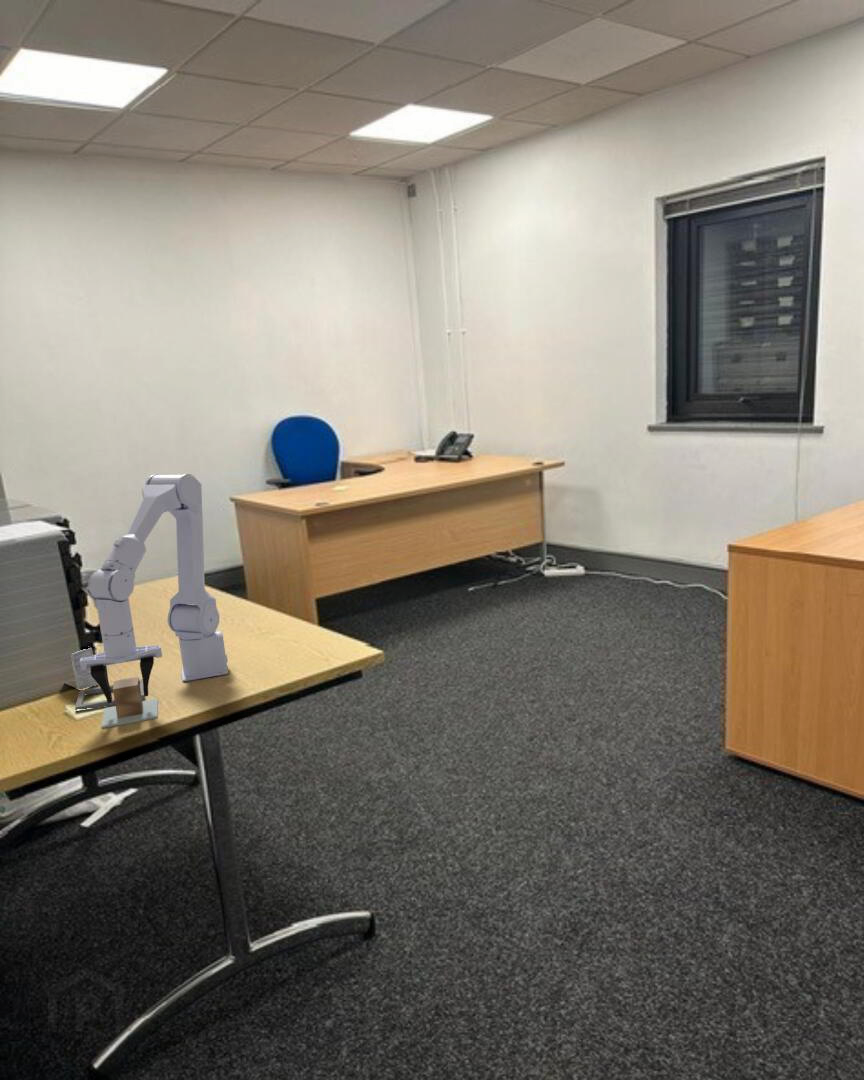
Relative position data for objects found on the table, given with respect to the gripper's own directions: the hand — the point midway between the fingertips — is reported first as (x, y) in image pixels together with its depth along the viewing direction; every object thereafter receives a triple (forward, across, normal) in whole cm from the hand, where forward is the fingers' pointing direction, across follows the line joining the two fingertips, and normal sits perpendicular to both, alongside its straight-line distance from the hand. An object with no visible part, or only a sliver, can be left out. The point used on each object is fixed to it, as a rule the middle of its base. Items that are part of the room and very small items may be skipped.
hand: (128, 697), depth 151 cm
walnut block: (+3, 0, 0) cm, 3 cm away
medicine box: (+4, -11, +22) cm, 25 cm away
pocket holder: (+3, -4, +11) cm, 12 cm away
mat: (+3, 0, 0) cm, 3 cm away
